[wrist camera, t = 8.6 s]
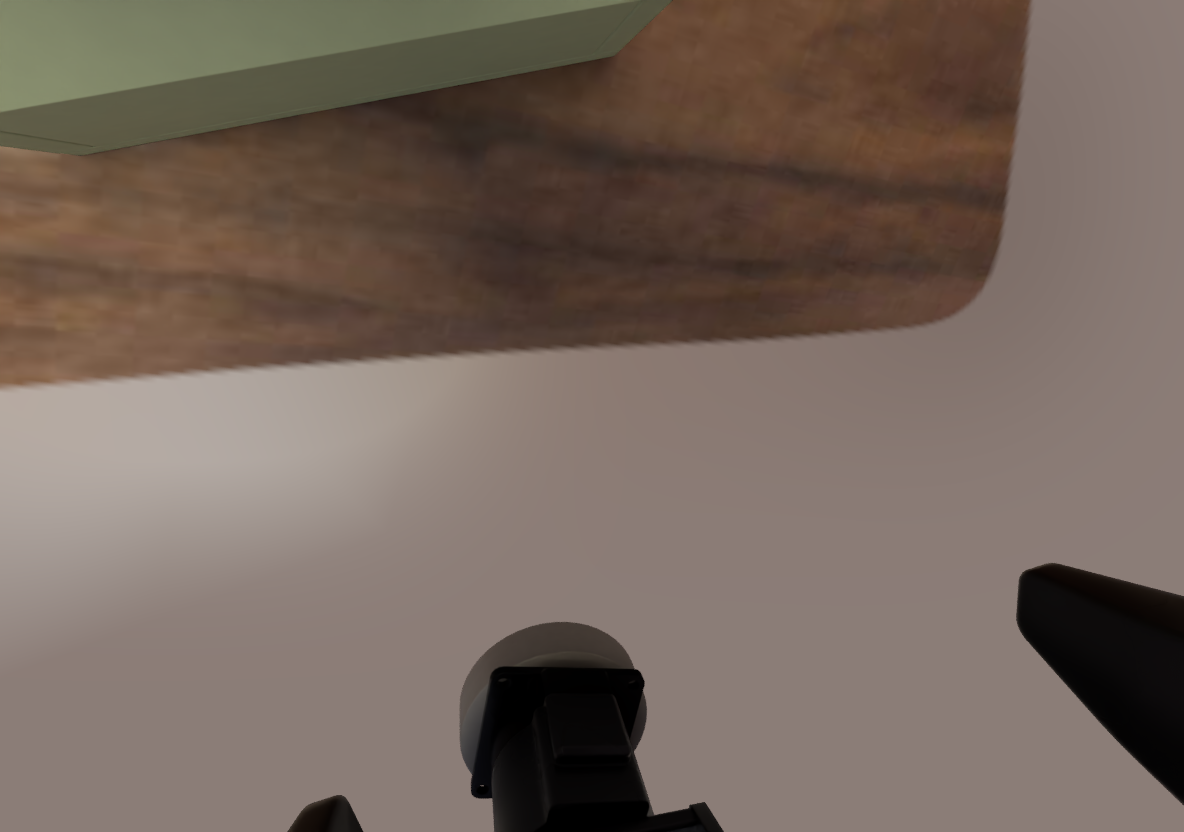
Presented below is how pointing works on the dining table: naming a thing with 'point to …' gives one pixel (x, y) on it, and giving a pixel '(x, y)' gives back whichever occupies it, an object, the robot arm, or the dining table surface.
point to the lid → (214, 37)
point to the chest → (324, 82)
